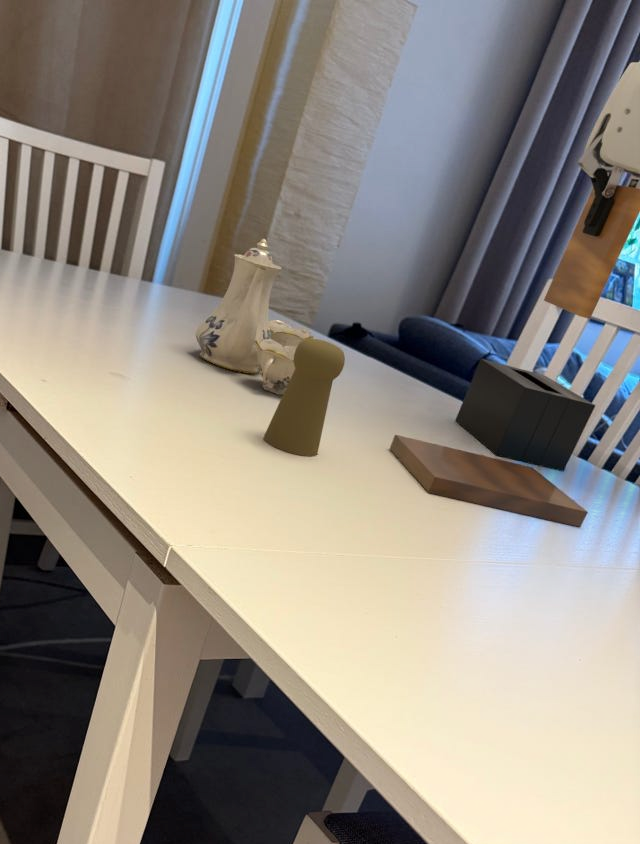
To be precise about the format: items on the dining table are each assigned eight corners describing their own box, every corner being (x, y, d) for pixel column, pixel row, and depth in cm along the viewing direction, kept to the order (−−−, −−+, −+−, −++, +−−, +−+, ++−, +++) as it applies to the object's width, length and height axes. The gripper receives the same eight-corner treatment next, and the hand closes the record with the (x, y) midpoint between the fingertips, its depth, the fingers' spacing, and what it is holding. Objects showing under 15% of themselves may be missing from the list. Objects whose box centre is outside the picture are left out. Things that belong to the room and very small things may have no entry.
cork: (321, 460, 96) (358, 356, 91) (266, 446, 96) (300, 340, 91) (313, 443, 102) (348, 343, 97) (261, 429, 101) (292, 328, 96)
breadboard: (526, 481, 112) (532, 467, 111) (580, 527, 100) (588, 512, 99) (389, 449, 108) (394, 434, 107) (428, 492, 96) (435, 476, 95)
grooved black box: (524, 437, 135) (552, 377, 131) (571, 473, 122) (604, 407, 118) (454, 420, 133) (480, 358, 129) (495, 455, 120) (525, 387, 116)
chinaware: (314, 422, 117) (373, 291, 109) (191, 376, 114) (243, 238, 106) (288, 371, 141) (335, 261, 134) (186, 331, 139) (228, 217, 131)
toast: (553, 303, 118) (606, 184, 111) (590, 319, 109) (649, 191, 103) (543, 300, 118) (595, 181, 111) (579, 316, 109) (637, 188, 102)
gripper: (719, 81, 105) (640, 250, 114) (598, 40, 103) (526, 216, 111) (760, 79, 99) (672, 259, 108) (632, 35, 96) (552, 223, 105)
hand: (598, 236), depth 109 cm, fingers closed on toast, 1 cm apart
